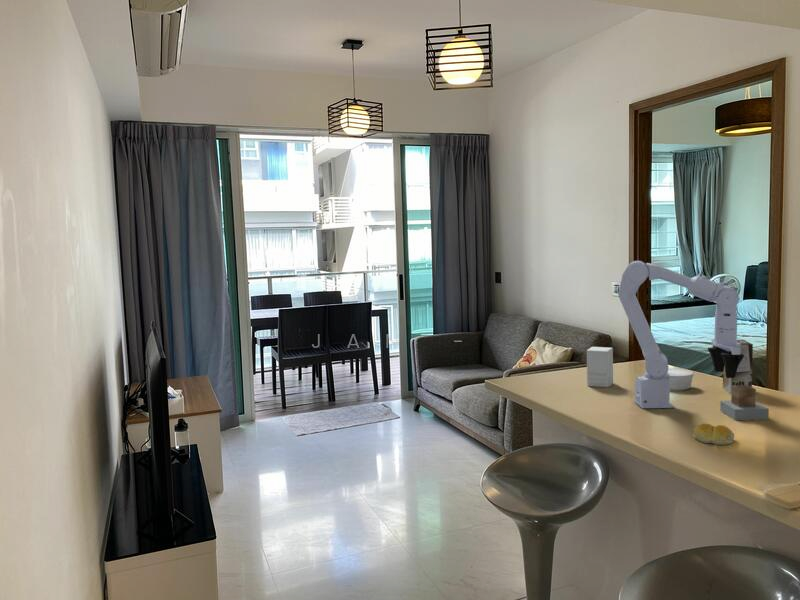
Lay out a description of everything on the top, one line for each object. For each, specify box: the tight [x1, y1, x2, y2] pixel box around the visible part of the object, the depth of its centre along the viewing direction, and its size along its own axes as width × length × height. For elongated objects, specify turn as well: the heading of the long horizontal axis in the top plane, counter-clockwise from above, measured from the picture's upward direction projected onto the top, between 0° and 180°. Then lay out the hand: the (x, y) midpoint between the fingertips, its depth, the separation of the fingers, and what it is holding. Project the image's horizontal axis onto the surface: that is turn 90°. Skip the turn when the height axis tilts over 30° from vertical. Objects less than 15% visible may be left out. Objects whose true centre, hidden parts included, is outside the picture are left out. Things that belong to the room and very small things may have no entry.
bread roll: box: [693, 423, 735, 446], centre depth 160 cm, size 8×9×4 cm
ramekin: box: [667, 368, 694, 391], centre depth 212 cm, size 11×11×5 cm
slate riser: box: [719, 400, 770, 421], centre depth 179 cm, size 9×9×3 cm
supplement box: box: [585, 346, 614, 388], centre depth 219 cm, size 7×7×13 cm
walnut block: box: [730, 385, 757, 407], centre depth 178 cm, size 4×4×5 cm
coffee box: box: [722, 339, 754, 395], centre depth 203 cm, size 9×6×16 cm
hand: (724, 374), depth 184 cm, fingers open, 7 cm apart
